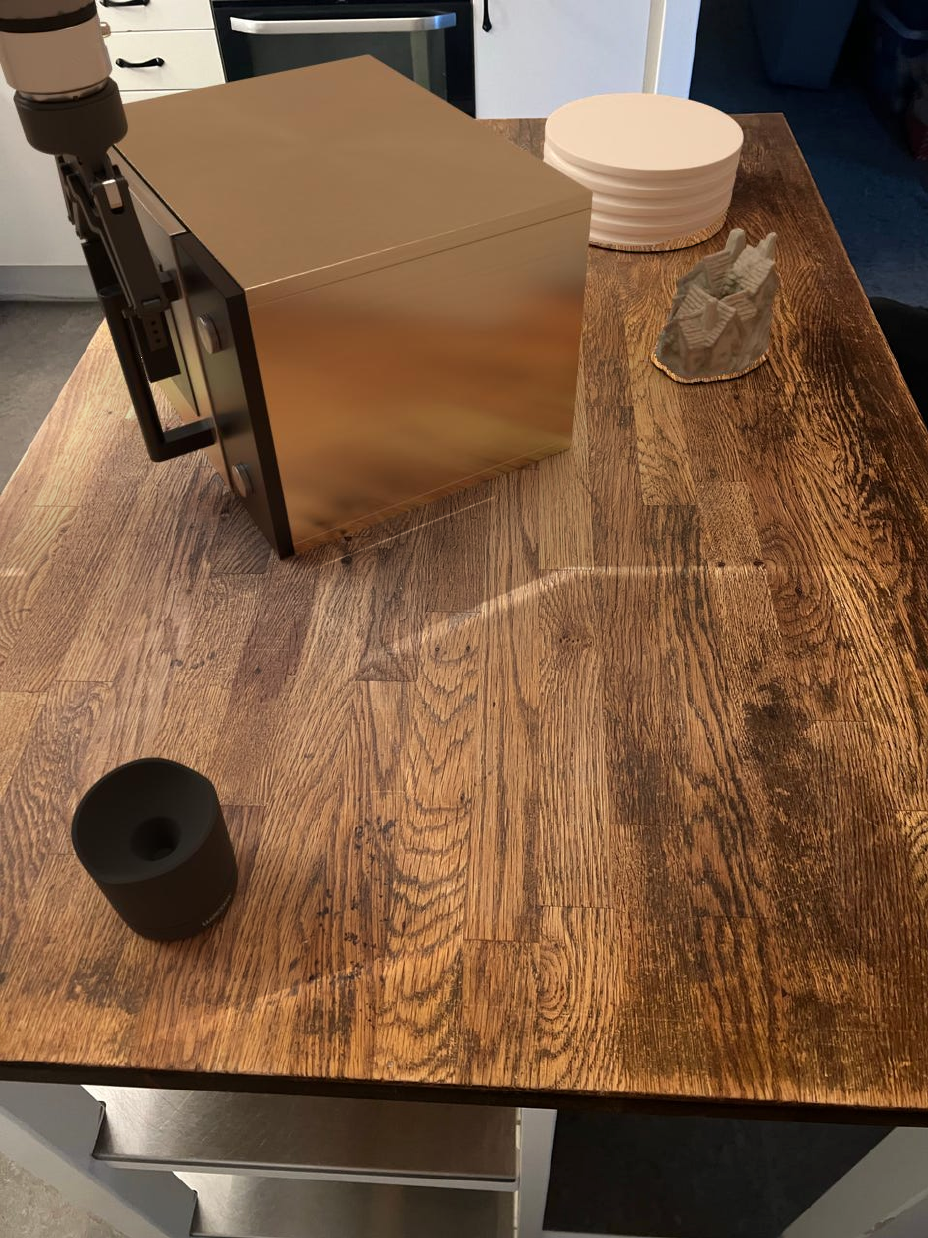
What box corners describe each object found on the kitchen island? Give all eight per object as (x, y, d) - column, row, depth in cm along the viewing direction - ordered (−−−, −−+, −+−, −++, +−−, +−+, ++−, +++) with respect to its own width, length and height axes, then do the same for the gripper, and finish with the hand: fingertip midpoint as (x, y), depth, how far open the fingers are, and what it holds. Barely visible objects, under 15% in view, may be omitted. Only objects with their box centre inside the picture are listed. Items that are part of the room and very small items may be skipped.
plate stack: (742, 253, 136) (761, 170, 127) (544, 251, 136) (550, 168, 127) (710, 170, 155) (724, 93, 146) (536, 168, 155) (541, 91, 146)
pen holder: (120, 968, 66) (75, 900, 59) (108, 852, 72) (66, 778, 65) (255, 925, 68) (228, 855, 61) (233, 816, 74) (206, 740, 67)
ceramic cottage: (723, 300, 126) (741, 188, 115) (792, 369, 116) (820, 253, 105) (615, 329, 123) (623, 218, 112) (677, 402, 113) (692, 288, 102)
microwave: (273, 564, 93) (214, 298, 73) (133, 355, 119) (61, 115, 99) (571, 447, 106) (593, 191, 85) (386, 281, 131) (368, 53, 111)
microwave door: (171, 513, 99) (91, 254, 78) (85, 368, 117) (3, 129, 97) (245, 486, 101) (186, 230, 81) (150, 349, 120) (83, 113, 100)
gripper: (168, 126, 65) (230, 395, 80) (69, 29, 79) (137, 272, 95) (56, 150, 62) (142, 423, 78) (-25, 46, 77) (61, 293, 92)
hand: (140, 341), depth 86 cm, fingers open, 13 cm apart
